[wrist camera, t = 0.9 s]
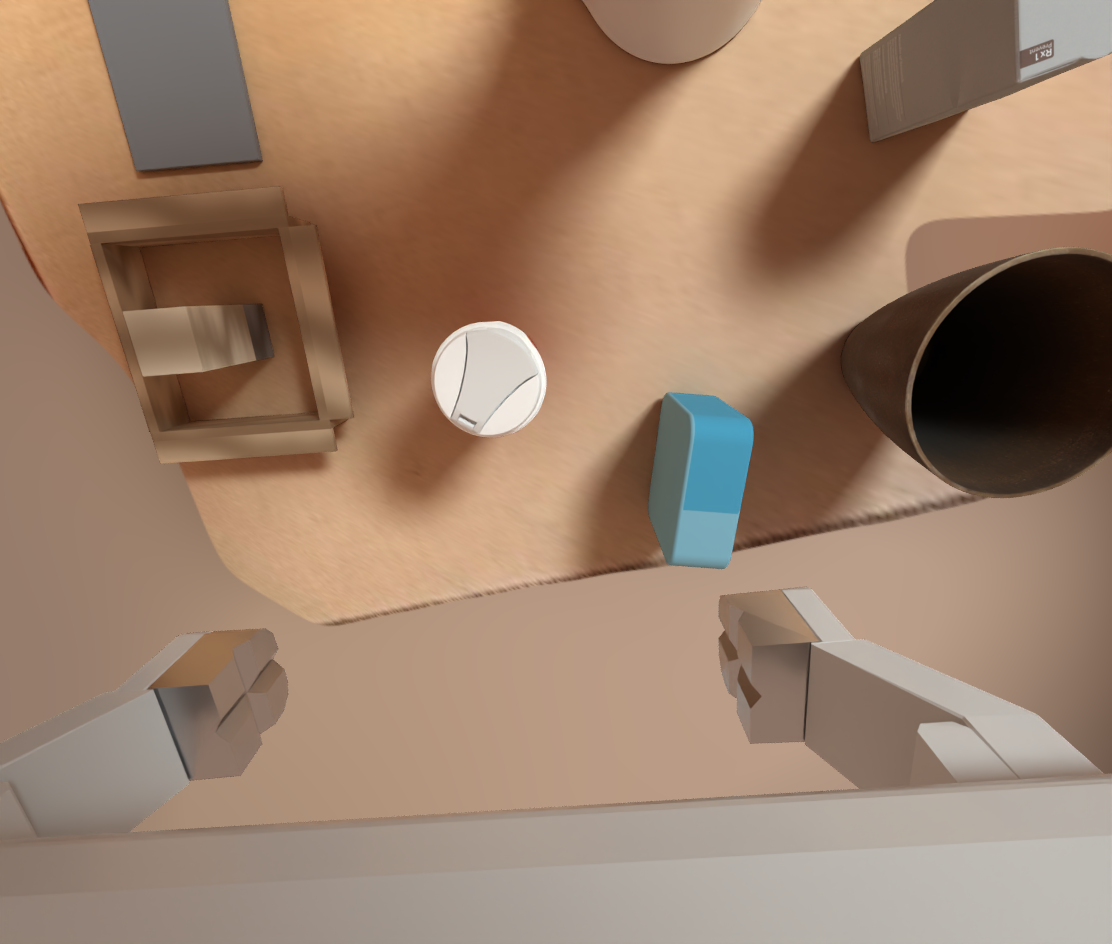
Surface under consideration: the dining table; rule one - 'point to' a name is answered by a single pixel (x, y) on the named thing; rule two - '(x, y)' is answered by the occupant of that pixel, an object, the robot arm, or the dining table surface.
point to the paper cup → (488, 379)
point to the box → (198, 337)
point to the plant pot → (995, 372)
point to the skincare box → (975, 56)
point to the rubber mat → (177, 82)
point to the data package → (698, 479)
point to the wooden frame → (128, 289)
